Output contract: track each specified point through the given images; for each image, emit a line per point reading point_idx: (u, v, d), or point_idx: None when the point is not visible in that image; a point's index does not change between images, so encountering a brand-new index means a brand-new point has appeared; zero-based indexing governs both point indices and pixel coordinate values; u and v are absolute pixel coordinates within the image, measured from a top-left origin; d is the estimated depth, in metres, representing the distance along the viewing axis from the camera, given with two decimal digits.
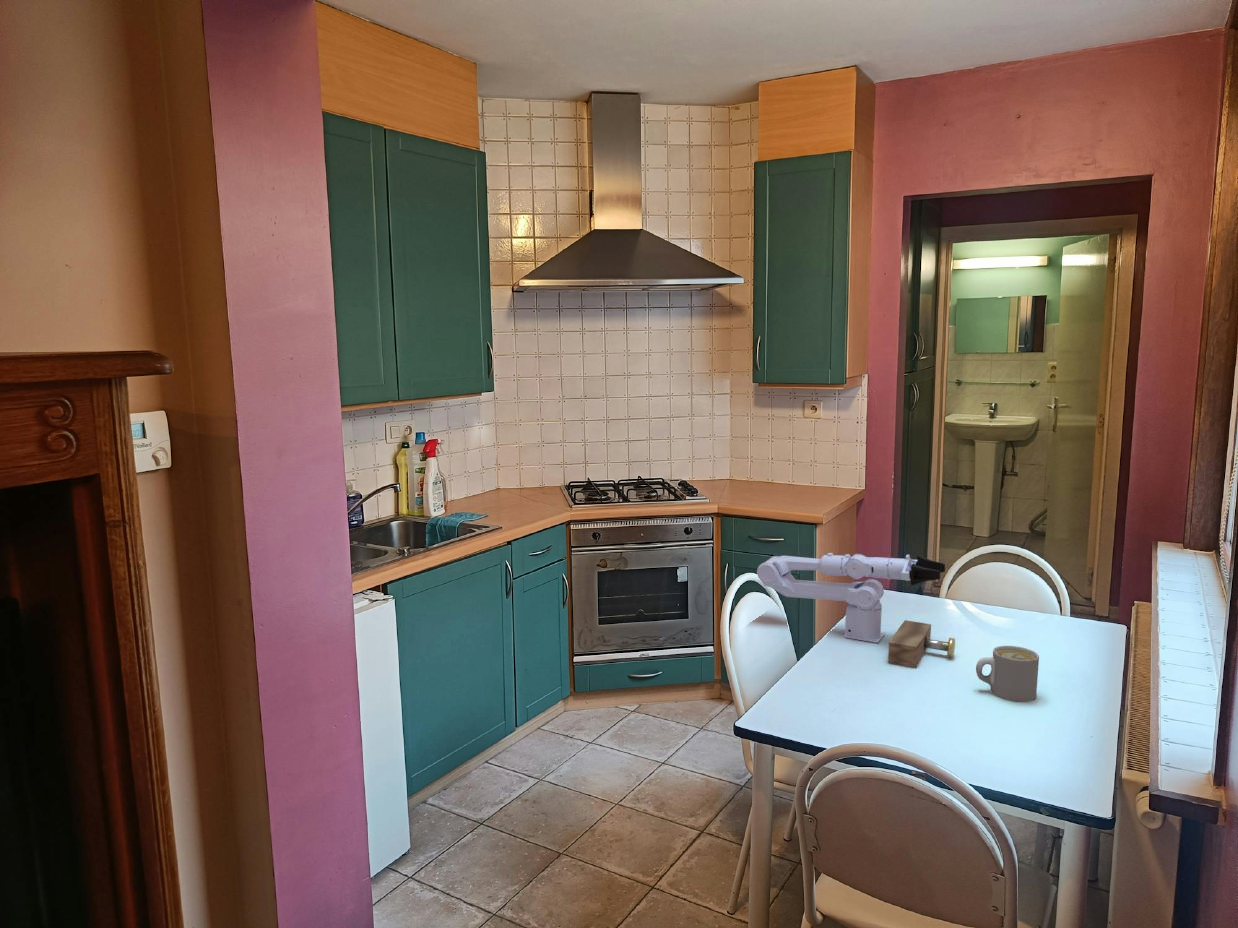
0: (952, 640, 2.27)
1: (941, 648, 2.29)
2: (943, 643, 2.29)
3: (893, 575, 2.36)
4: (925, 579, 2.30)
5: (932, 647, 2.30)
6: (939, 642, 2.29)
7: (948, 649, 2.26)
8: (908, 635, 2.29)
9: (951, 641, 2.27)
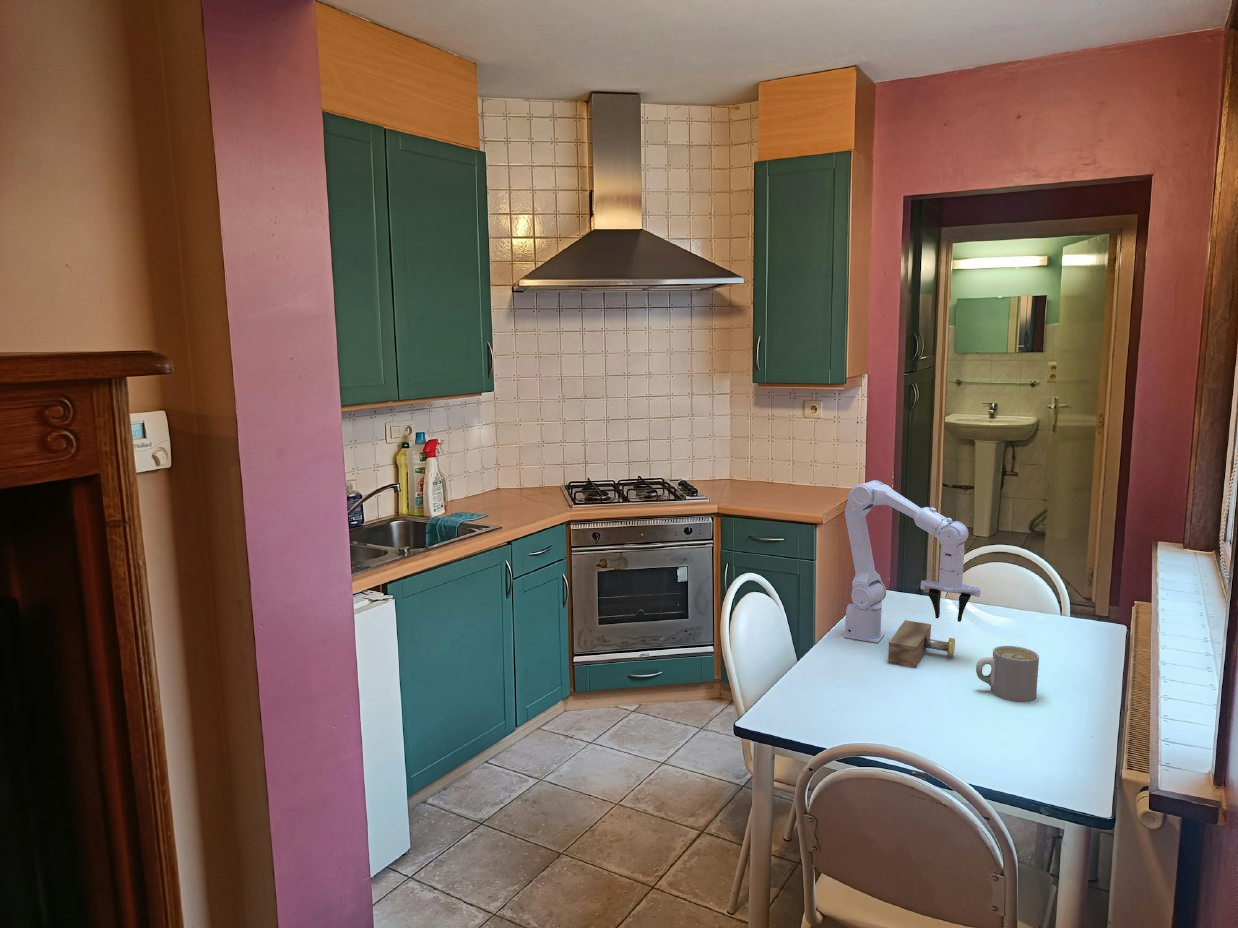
0: (952, 640, 2.27)
1: (941, 648, 2.29)
2: (943, 643, 2.29)
3: None
4: None
5: (932, 647, 2.30)
6: (939, 642, 2.29)
7: (948, 649, 2.26)
8: (908, 635, 2.29)
9: (951, 641, 2.27)
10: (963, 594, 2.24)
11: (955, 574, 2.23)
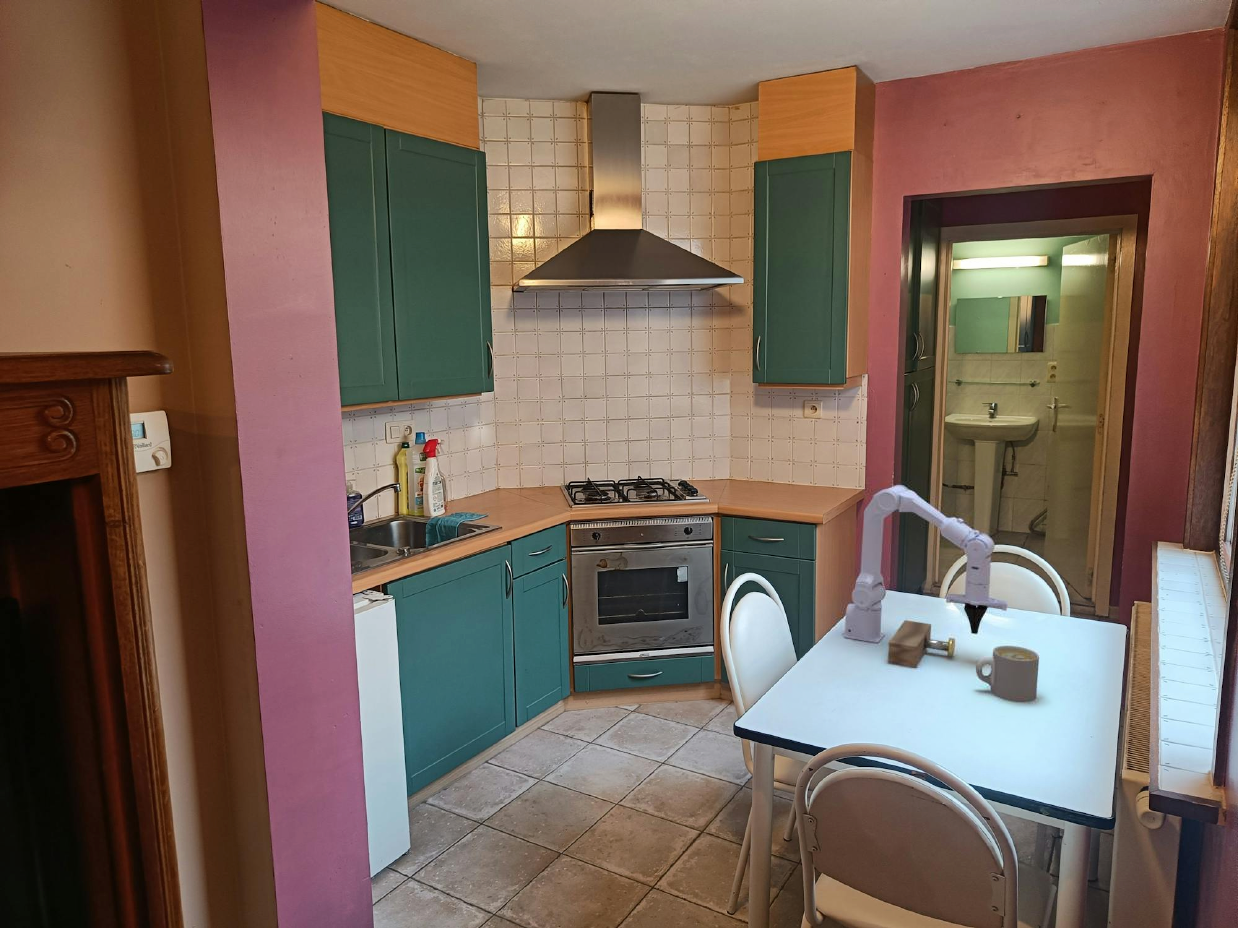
0: (952, 640, 2.27)
1: (941, 648, 2.29)
2: (943, 643, 2.29)
3: None
4: None
5: (932, 647, 2.30)
6: (939, 642, 2.29)
7: (948, 649, 2.26)
8: (908, 635, 2.29)
9: (951, 641, 2.27)
10: None
11: (982, 587, 2.20)
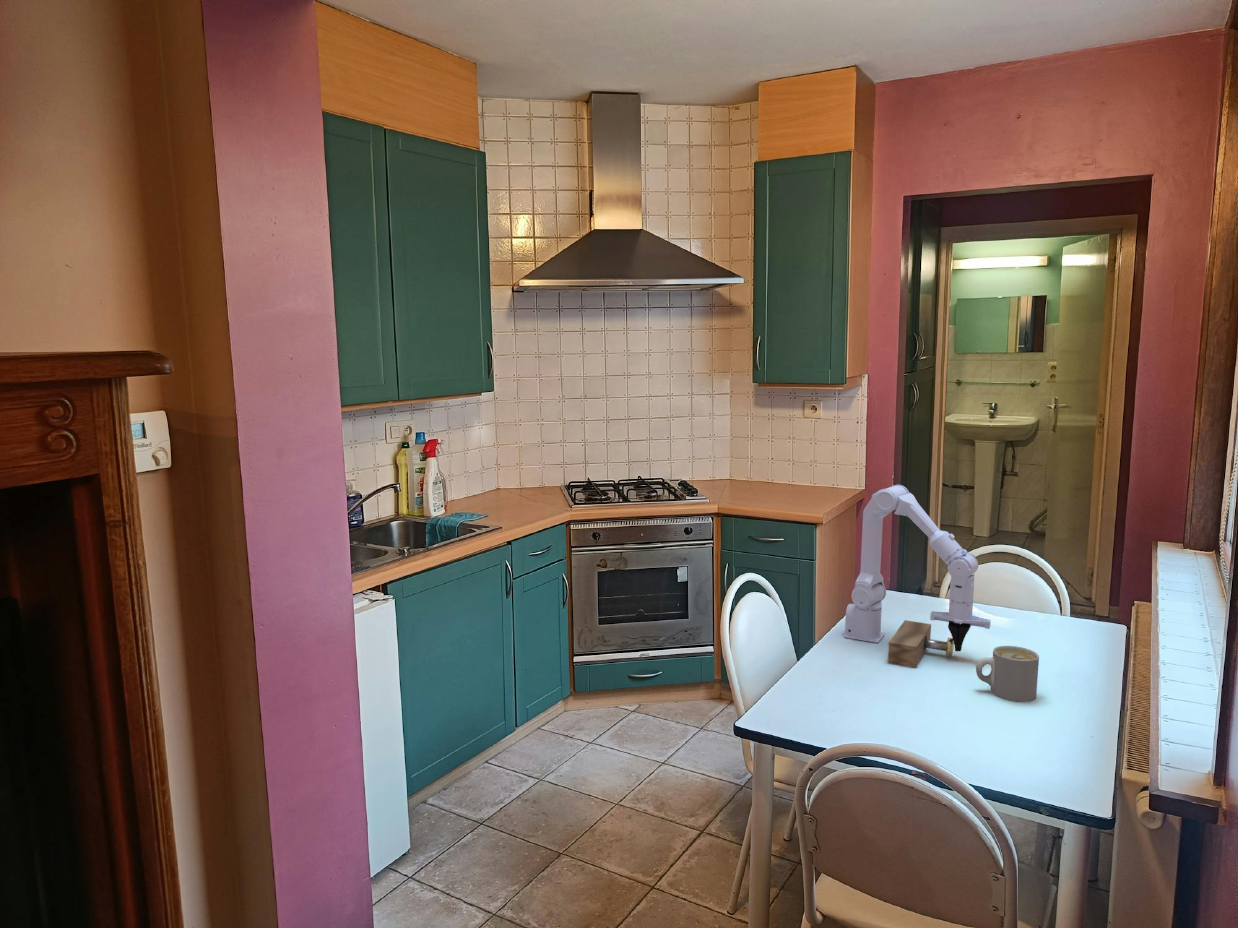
0: (951, 640, 2.27)
1: (940, 648, 2.29)
2: (942, 643, 2.29)
3: None
4: None
5: (931, 647, 2.30)
6: (938, 642, 2.29)
7: (947, 649, 2.27)
8: (908, 635, 2.29)
9: (950, 641, 2.27)
10: None
11: (965, 606, 2.23)
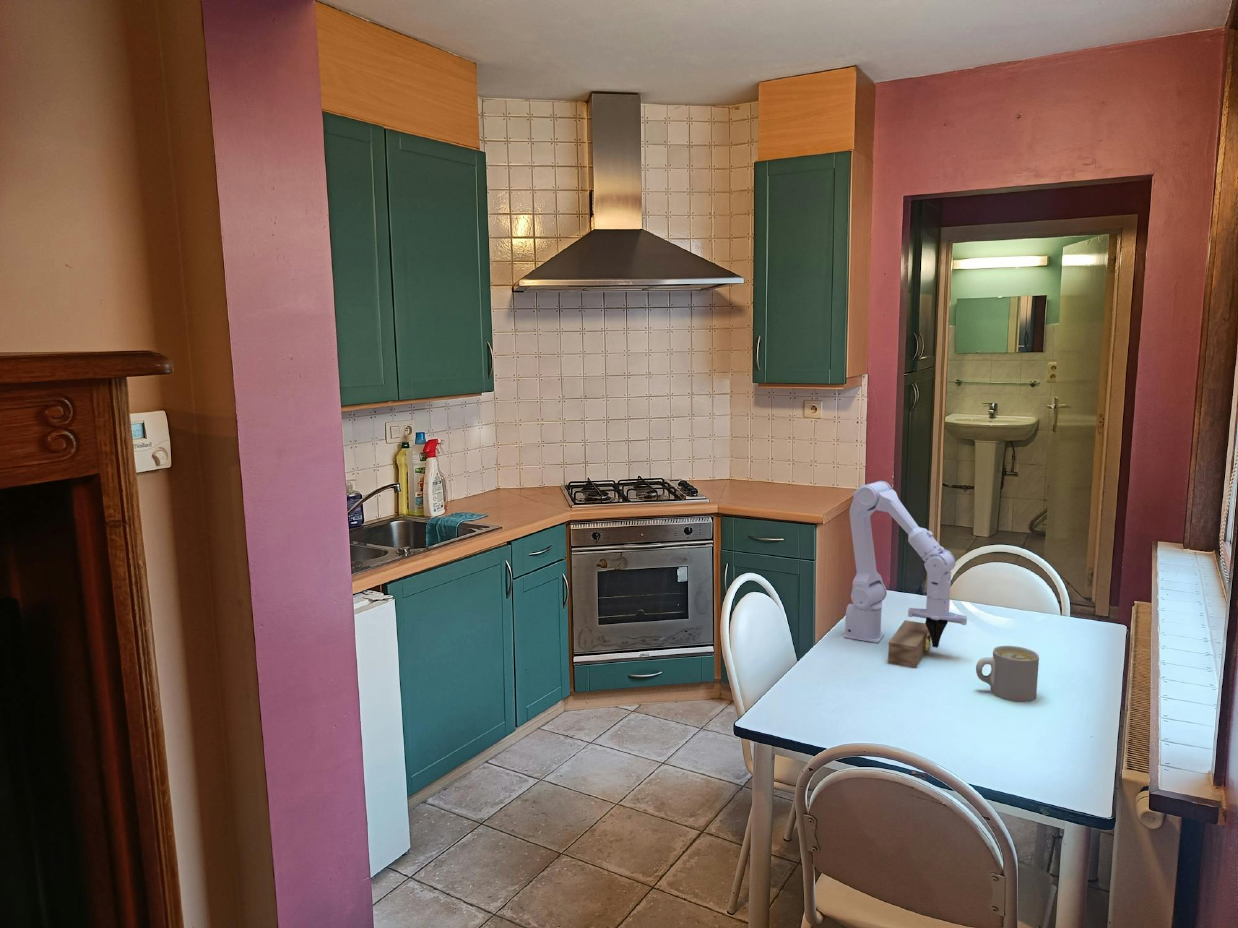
0: (928, 636, 2.30)
1: None
2: None
3: None
4: None
5: None
6: None
7: (924, 645, 2.29)
8: (908, 635, 2.29)
9: (927, 637, 2.30)
10: None
11: (942, 602, 2.26)
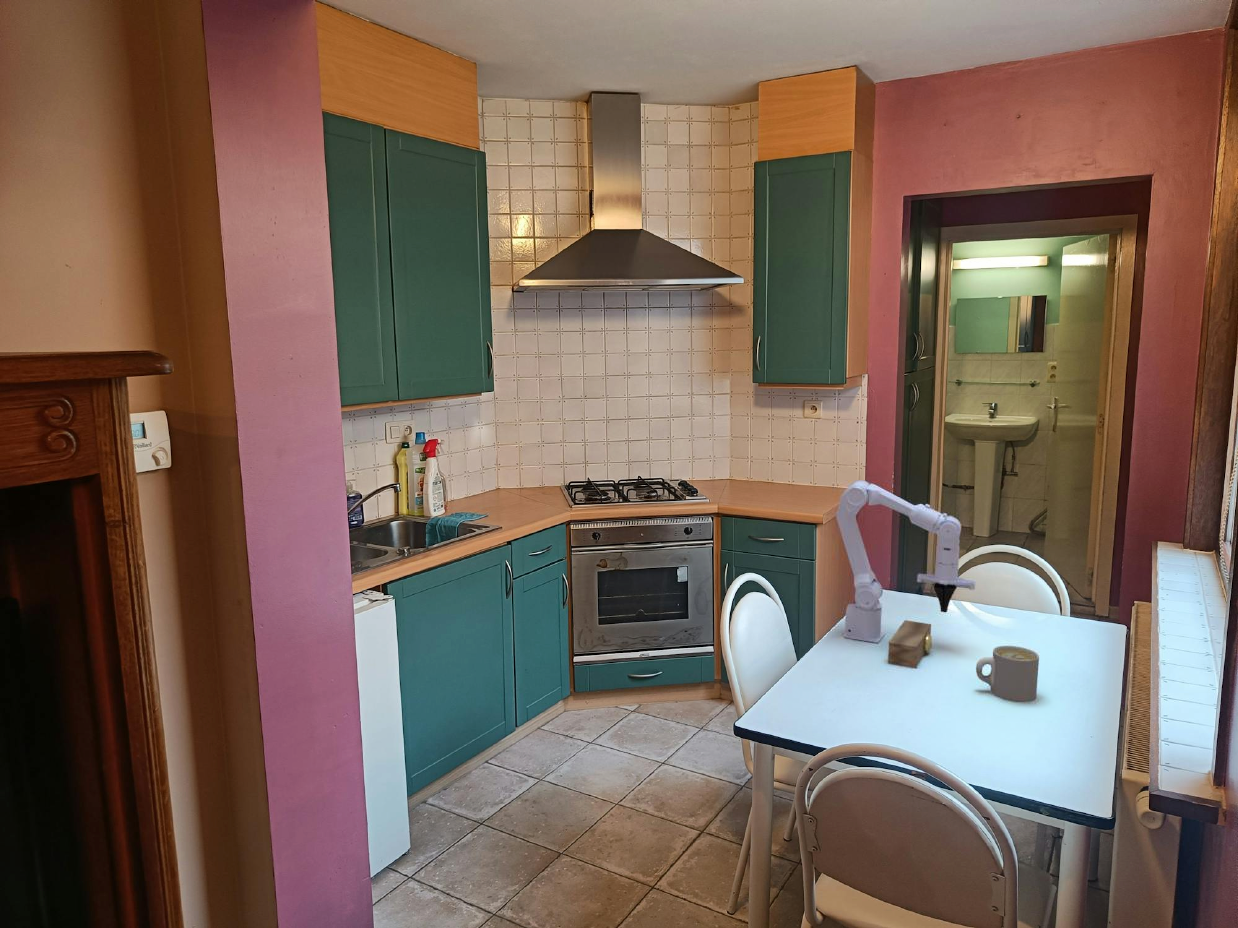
0: (928, 636, 2.30)
1: None
2: None
3: None
4: None
5: None
6: None
7: (924, 645, 2.29)
8: (908, 635, 2.29)
9: (927, 637, 2.30)
10: None
11: (950, 567, 2.30)
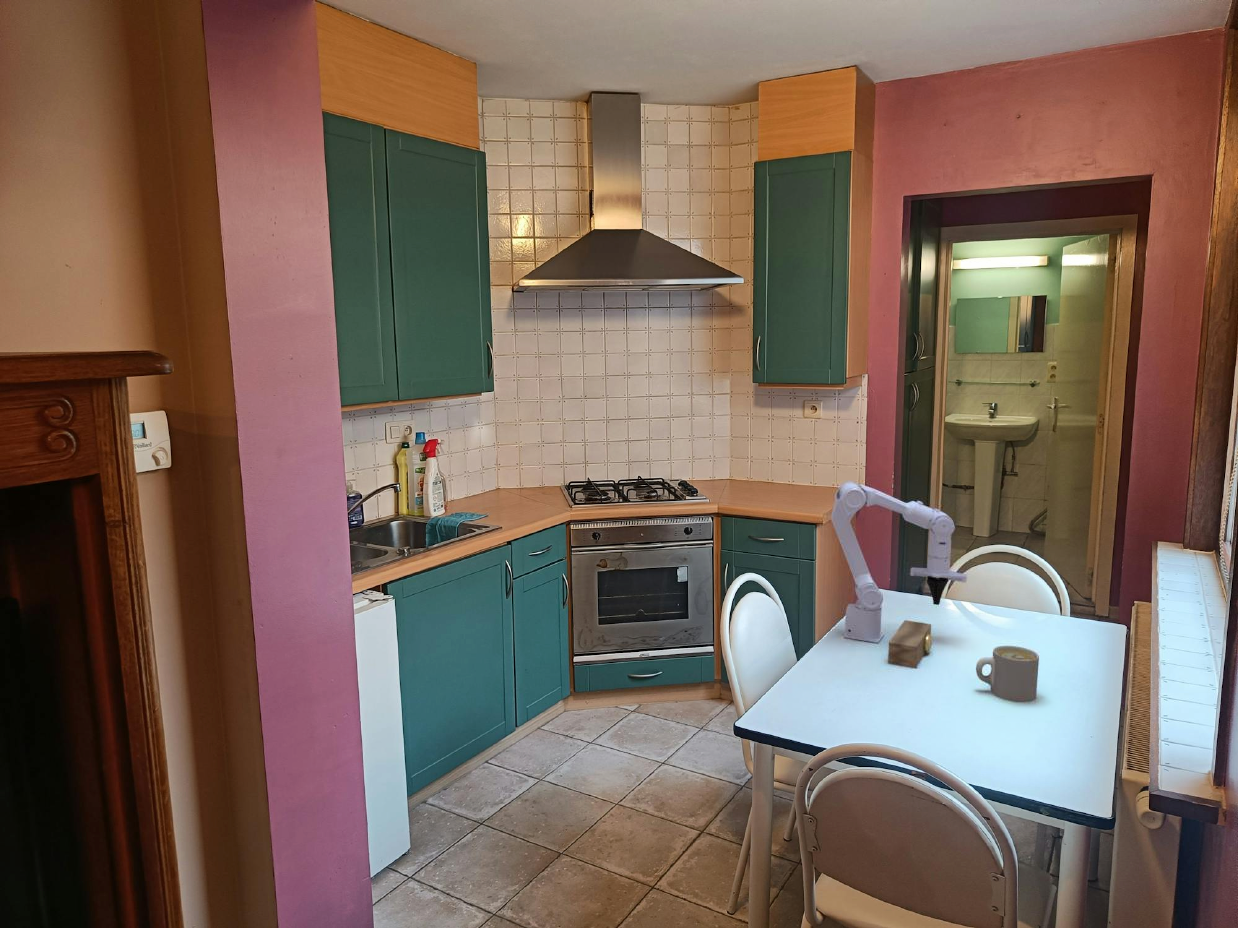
0: (928, 636, 2.30)
1: None
2: None
3: None
4: None
5: None
6: None
7: (924, 645, 2.29)
8: (908, 635, 2.29)
9: (927, 637, 2.30)
10: None
11: (942, 561, 2.36)
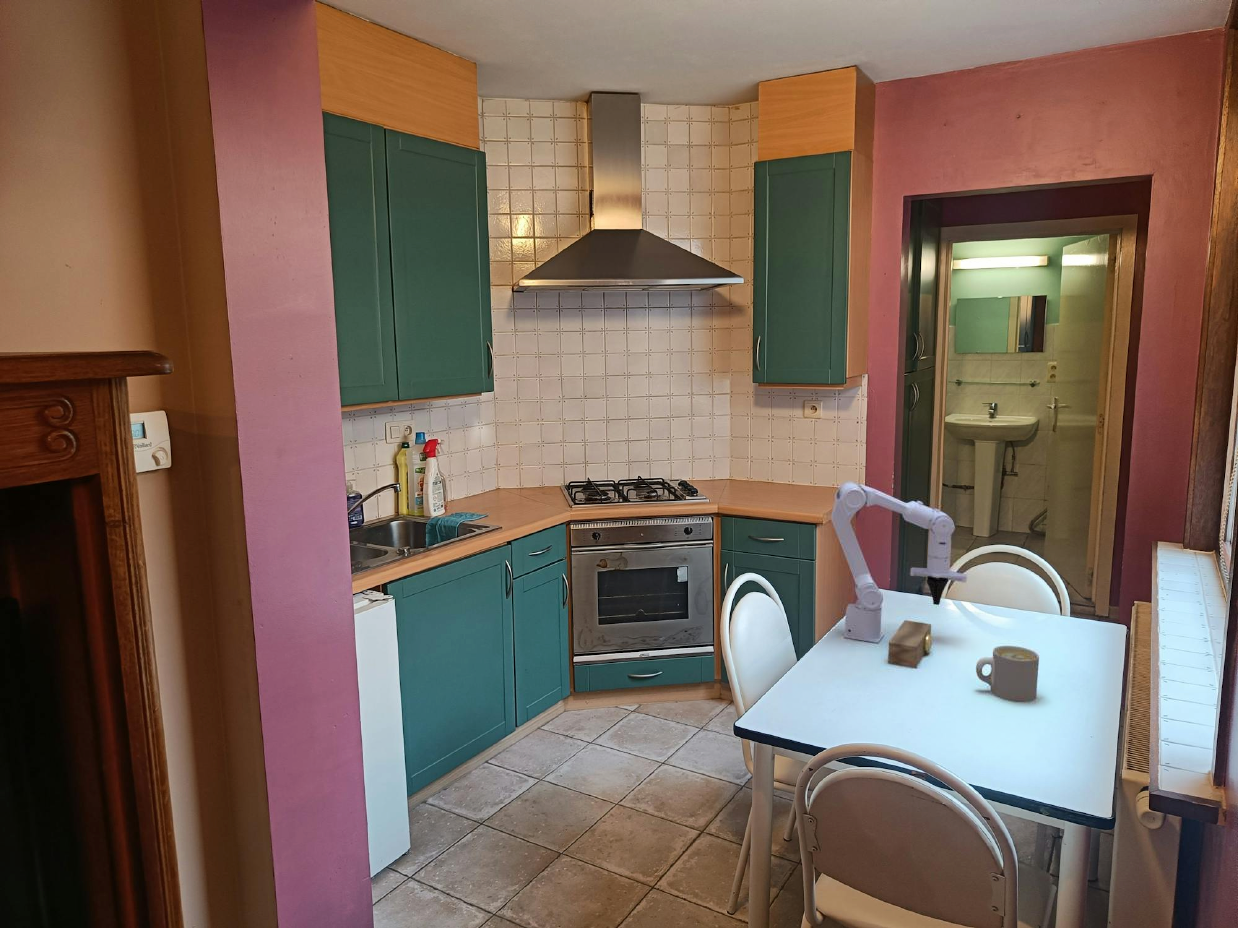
0: (928, 636, 2.30)
1: None
2: None
3: None
4: None
5: None
6: None
7: (924, 645, 2.29)
8: (908, 635, 2.29)
9: (927, 637, 2.30)
10: None
11: (942, 561, 2.36)
